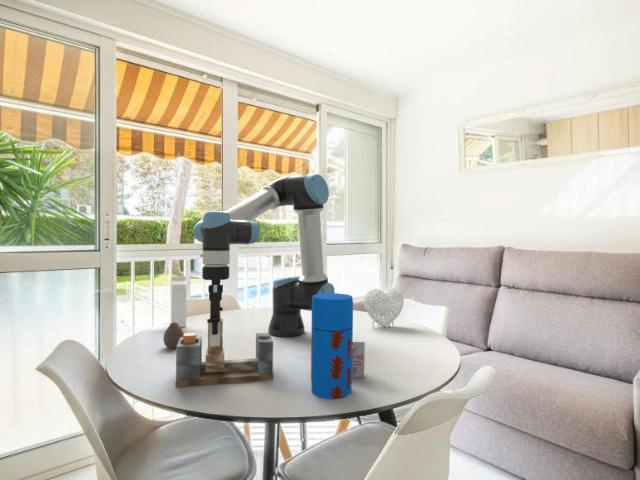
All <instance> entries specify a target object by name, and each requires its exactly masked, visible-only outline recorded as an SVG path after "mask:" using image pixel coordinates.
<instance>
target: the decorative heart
mask: <svg viewBox="0 0 640 480" xmlns="http://www.w3.org/2000/svg"><path fill="white" fill-rule="evenodd" d="M404 303H405V302H404V296H403V294H402V292H401V291H400V290H398V289H395V288H389V289H386V290H384V291H383V290H381V289H377V288H372V289H370V290H368V291H367V292H366V293H365V295H364V298H363V304H364V309H365V312H366V313H367V314H368V316H369V318H371V320H373V321H372V328H375V323H377V324H376V326H377V327H376V328H379V326H380V327H381V328H385V327H387V326H388V328H391V326H392V327H394V324H395V323H394V321H395V320H396V319H397V318H398V317H399V316H400V314H401V312H402V310H403V307H404Z"/></svg>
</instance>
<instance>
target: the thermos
mask: <svg viewBox="0 0 640 480" xmlns="http://www.w3.org/2000/svg"><path fill="white" fill-rule="evenodd" d="M353 299H354V298H353V295H350V294H346V293H336V292H335V293H323V294H316V295H313V297H312V311H311V330H310V331H311V333H310V334H311V341H310V342H311V345H310V346H311V348H310V349H311V351H310V352H311V353H310V356H311V357H310V358H311V359H310V382H311V383H310V384H311V393H312V394H313V395H314V396H316V397H318V398H321V399H326V400H338V399H343V398H346V397H348V396H350V395H351V393H352V385H353V383H352V382H353V378H352V347H353V342H354V340H353V339H354V337H353V335H354V334H353V333H354V332H353V331H354V330H353V329H354V300H353Z"/></svg>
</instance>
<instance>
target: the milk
mask: <svg viewBox="0 0 640 480" xmlns="http://www.w3.org/2000/svg"><path fill="white" fill-rule="evenodd" d="M170 283H171V284H170V287H171V289H170V291H171V292H170V293H171V294H170V323H173V322H176V323H178V325H179V326H180V328H186V327H187V277H186V276H185V275H183V276H177V275H176V276H171V281H170Z"/></svg>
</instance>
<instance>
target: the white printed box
mask: <svg viewBox="0 0 640 480" xmlns="http://www.w3.org/2000/svg"><path fill="white" fill-rule="evenodd" d="M365 345H366V344H365V341H353V347H352V379H362V380H364V379H365V354H366V353H365V350H366V349H365Z"/></svg>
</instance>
